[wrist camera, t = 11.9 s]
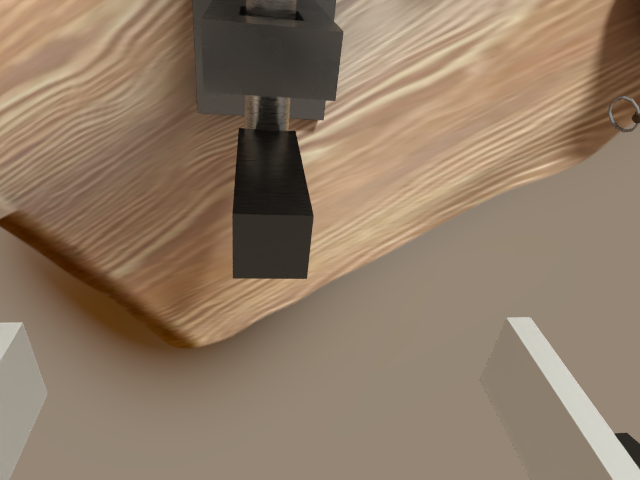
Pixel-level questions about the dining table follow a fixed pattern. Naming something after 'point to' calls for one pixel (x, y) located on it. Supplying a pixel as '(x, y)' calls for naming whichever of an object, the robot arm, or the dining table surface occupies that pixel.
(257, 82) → the shaft stand
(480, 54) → the dining table surface
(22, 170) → the dining table surface
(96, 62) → the dining table surface
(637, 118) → the coffee pot
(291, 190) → the shaft
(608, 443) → the robot arm
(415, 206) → the dining table surface
